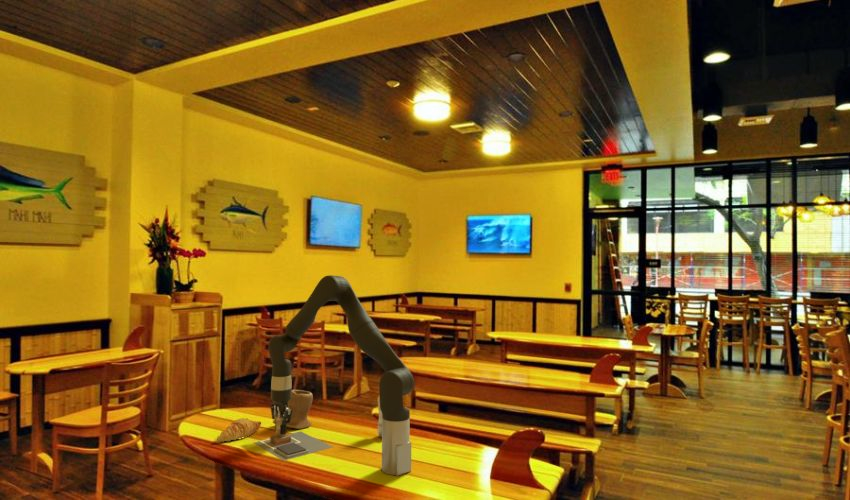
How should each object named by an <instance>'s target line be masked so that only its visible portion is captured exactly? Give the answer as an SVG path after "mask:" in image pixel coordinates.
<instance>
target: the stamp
mask: <svg viewBox="0 0 850 500" xmlns="http://www.w3.org/2000/svg"><path fill="white" fill-rule="evenodd" d="M281 416H284V415H281ZM280 425H281V424H280V419H279V417H278V416H277V417H276V432H275V434H273V435H269V436H270V437H269V439H270V442H272V443H273V444H275V445H281V444H285V443H289V442H291V436H289V435H288V433H286V434H283V435H281V434H280Z"/></svg>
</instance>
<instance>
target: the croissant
mask: <svg viewBox="0 0 850 500" xmlns="http://www.w3.org/2000/svg"><path fill="white" fill-rule="evenodd" d="M261 425H262V422H261V421H258V420H257V421H256V420H251V419H248V418H244V417H243V418H239V419H238V418H237V419H235V420H234V421H232V422H231V423H230V424H229V425H228V426H227V427H226V428H225V430H223V431H221V432H220V434H219V435H218V436H217V437H216V441H217V442H220V443H222V442H223V443H225V442H224V441H227V442H232V441H231V440H234V441H237V440H236V439H239V438H242V437H244V439H246V438H247V437H246V436H248V435H251V434H252V433H253V434H255V432H257V431H258V430H259V429H260V427H261ZM256 430H257V431H256ZM253 434H252V435H253ZM252 435H251V436H252ZM245 437H246V438H245Z"/></svg>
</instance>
